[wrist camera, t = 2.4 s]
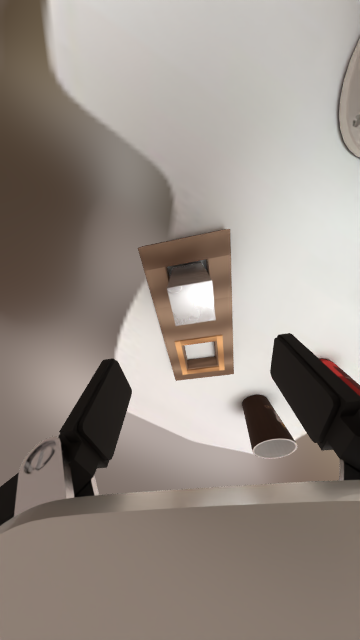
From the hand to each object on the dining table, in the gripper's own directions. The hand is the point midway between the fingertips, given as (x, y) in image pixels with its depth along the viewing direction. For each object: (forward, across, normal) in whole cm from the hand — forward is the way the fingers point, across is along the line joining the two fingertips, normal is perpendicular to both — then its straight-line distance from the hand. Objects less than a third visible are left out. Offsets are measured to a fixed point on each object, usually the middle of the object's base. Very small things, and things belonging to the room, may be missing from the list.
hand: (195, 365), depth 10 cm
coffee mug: (+19, -13, +36) cm, 42 cm away
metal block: (+18, 0, 0) cm, 18 cm away
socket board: (+18, -1, +7) cm, 19 cm away
